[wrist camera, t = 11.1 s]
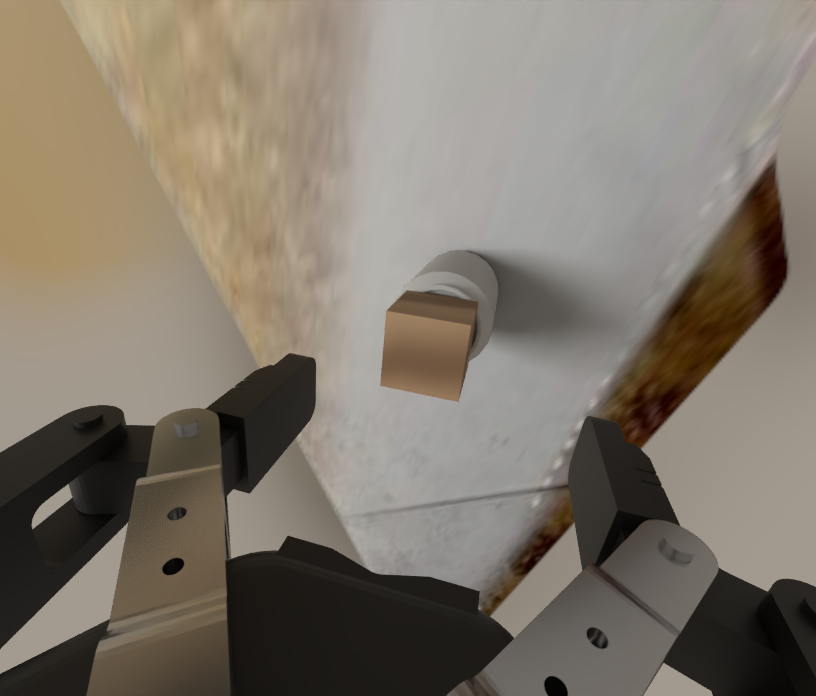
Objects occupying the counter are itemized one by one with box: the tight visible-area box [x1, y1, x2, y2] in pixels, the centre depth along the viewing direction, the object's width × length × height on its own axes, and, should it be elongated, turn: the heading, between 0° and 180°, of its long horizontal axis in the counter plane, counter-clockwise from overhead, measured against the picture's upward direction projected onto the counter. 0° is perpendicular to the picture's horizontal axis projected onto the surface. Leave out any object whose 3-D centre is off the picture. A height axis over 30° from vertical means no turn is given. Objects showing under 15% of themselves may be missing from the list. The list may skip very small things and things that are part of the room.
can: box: [396, 251, 498, 361], centre depth 35 cm, size 8×8×12 cm
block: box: [380, 290, 479, 402], centre depth 27 cm, size 5×5×5 cm
